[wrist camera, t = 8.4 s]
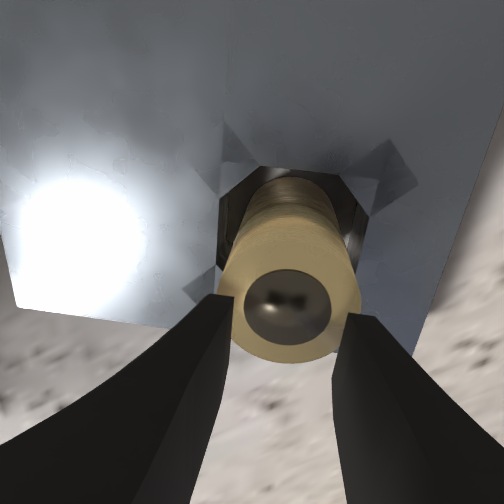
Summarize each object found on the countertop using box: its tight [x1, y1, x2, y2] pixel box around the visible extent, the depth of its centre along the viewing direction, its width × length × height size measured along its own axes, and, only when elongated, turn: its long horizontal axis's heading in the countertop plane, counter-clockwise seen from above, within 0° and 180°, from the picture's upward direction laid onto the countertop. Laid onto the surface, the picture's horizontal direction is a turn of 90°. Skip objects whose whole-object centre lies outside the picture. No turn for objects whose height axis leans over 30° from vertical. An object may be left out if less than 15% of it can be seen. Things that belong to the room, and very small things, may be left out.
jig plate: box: [0, 0, 504, 357], centre depth 14 cm, size 18×14×2 cm
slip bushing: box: [217, 177, 361, 364], centre depth 13 cm, size 4×4×7 cm
